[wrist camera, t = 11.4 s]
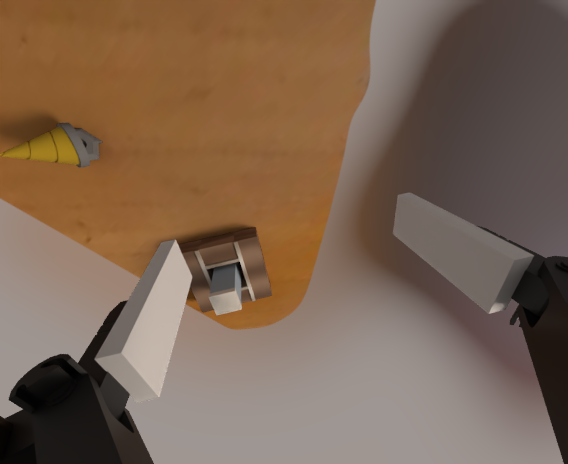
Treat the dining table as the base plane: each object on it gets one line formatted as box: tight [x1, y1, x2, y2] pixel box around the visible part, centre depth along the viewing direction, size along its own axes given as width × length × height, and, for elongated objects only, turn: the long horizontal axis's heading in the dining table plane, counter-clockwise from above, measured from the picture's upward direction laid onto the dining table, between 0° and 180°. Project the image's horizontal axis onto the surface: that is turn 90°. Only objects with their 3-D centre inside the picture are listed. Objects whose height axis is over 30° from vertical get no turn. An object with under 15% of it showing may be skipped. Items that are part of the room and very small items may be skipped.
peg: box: [209, 262, 242, 315], centre depth 40 cm, size 4×4×10 cm
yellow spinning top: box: [0, 123, 102, 167], centre depth 28 cm, size 5×5×10 cm
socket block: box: [179, 227, 272, 312], centre depth 43 cm, size 14×14×4 cm
